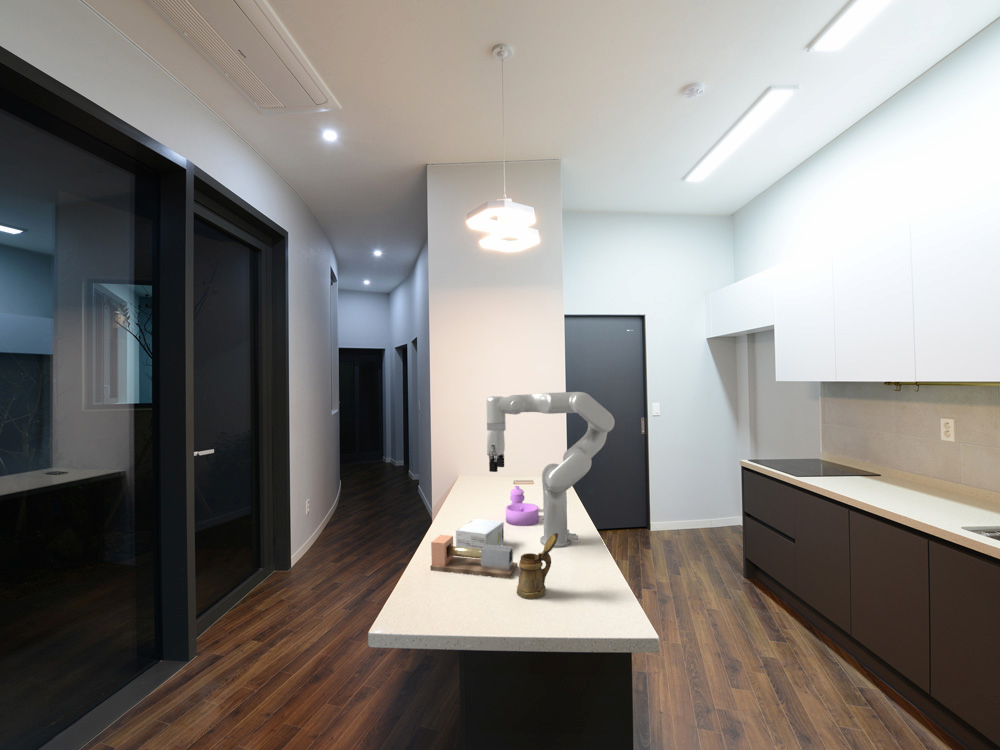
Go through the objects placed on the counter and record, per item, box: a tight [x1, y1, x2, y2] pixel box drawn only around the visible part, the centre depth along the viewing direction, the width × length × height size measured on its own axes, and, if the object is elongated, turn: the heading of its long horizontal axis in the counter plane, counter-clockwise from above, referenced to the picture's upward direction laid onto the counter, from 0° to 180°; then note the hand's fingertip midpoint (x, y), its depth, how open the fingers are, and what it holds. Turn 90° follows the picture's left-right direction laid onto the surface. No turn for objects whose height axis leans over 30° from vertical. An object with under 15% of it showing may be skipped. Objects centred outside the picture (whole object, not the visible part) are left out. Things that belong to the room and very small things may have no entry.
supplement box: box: [455, 518, 505, 549], centre depth 184 cm, size 17×13×9 cm
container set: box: [505, 485, 540, 527], centre depth 223 cm, size 25×15×13 cm, turn 7°
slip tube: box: [447, 545, 481, 559], centre depth 165 cm, size 20×3×3 cm, turn 74°
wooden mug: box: [516, 533, 558, 600], centre depth 146 cm, size 9×14×18 cm, turn 98°
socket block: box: [430, 534, 454, 566], centre depth 168 cm, size 5×8×8 cm, turn 164°
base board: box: [430, 556, 518, 580], centre depth 164 cm, size 29×10×2 cm, turn 74°
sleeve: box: [481, 544, 514, 571], centre depth 162 cm, size 10×5×6 cm, turn 74°
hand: (497, 469), depth 188 cm, fingers open, 9 cm apart
